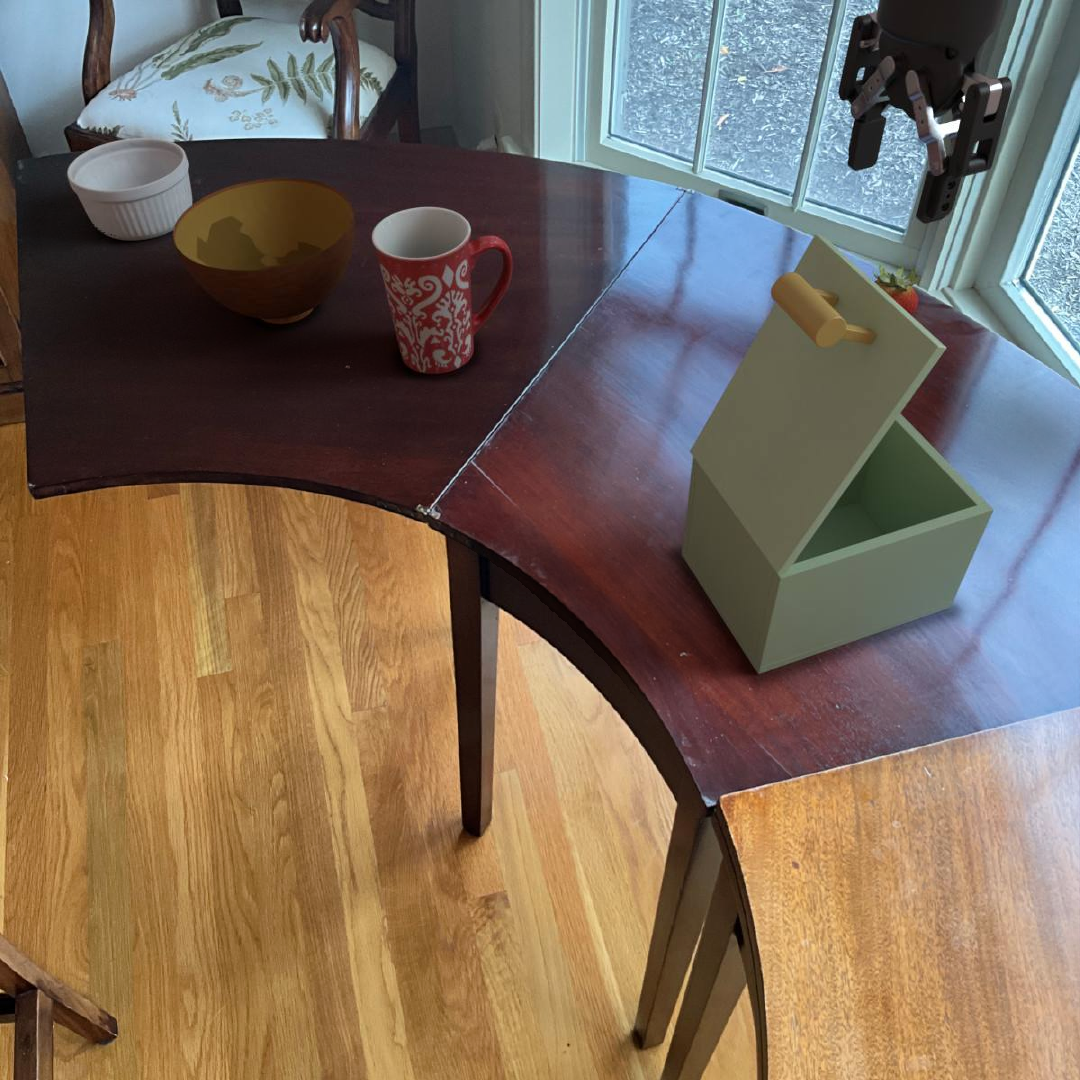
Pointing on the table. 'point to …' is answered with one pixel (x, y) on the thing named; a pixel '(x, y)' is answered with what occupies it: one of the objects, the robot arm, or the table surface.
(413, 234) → the mug
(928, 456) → the chest
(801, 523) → the lid
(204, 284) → the bowl
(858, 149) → the robot arm
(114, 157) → the ramekin
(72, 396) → the table surface
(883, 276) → the fruit
